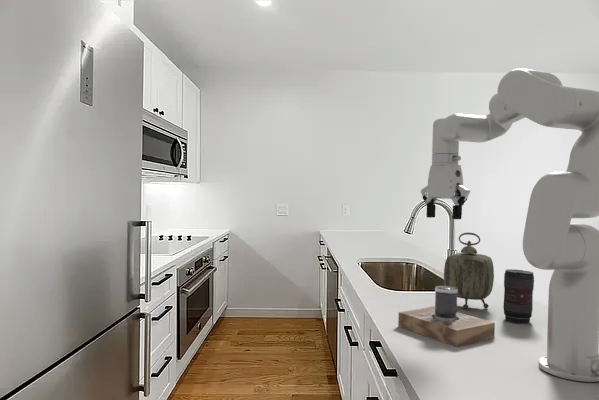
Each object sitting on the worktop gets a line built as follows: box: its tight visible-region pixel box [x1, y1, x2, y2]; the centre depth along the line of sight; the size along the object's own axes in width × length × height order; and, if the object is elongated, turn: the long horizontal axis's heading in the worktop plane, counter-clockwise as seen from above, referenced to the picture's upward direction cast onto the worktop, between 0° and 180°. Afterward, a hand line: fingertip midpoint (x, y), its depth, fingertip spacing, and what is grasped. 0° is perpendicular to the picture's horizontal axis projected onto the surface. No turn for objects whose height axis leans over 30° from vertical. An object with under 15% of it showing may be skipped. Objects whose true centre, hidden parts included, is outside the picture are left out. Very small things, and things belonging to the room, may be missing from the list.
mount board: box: [397, 305, 496, 348], centre depth 128 cm, size 20×15×4 cm
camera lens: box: [503, 268, 535, 325], centre depth 141 cm, size 8×8×15 cm
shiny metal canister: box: [434, 285, 458, 321], centre depth 128 cm, size 6×6×12 cm
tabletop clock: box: [443, 232, 495, 310], centre depth 156 cm, size 14×9×25 cm, turn 57°
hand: (443, 218), depth 140 cm, fingers open, 9 cm apart
